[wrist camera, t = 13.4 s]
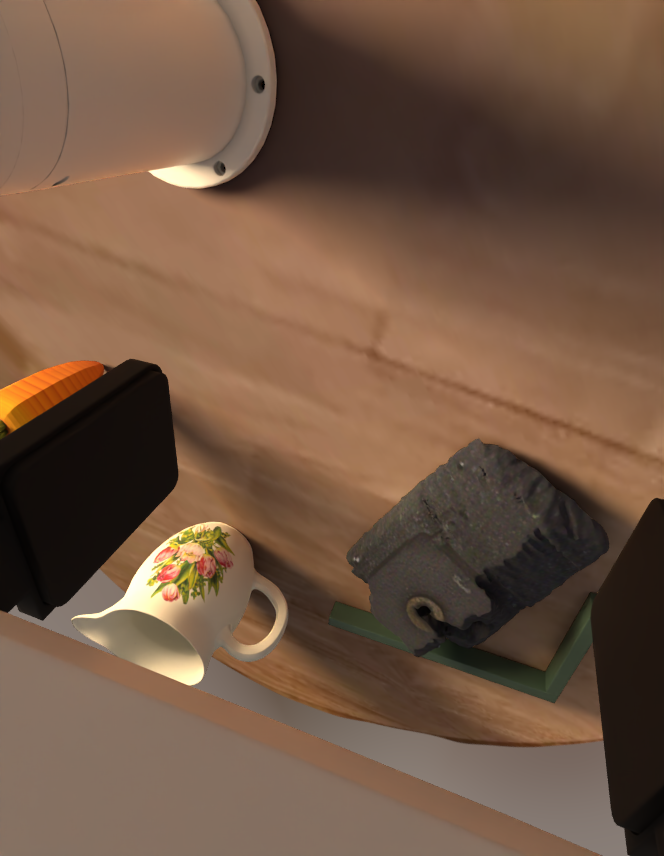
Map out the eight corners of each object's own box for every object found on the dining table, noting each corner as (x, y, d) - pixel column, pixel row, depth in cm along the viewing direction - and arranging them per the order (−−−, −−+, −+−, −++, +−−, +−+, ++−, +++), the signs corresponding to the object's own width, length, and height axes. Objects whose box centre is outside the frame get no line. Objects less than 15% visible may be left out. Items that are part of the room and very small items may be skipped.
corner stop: (334, 607, 55) (328, 624, 53) (346, 519, 47) (339, 535, 46) (553, 682, 50) (554, 703, 48) (605, 596, 42) (608, 617, 41)
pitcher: (306, 607, 56) (251, 729, 45) (164, 555, 60) (81, 656, 49) (315, 539, 50) (254, 661, 39) (156, 485, 54) (59, 583, 43)
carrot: (116, 342, 45) (-34, 428, 33) (131, 391, 48) (-4, 487, 36) (72, 338, 47) (-87, 419, 35) (88, 386, 49) (-54, 477, 37)
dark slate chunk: (643, 537, 38) (655, 584, 35) (457, 646, 52) (451, 689, 48) (481, 419, 38) (475, 454, 34) (335, 561, 51) (319, 598, 47)
